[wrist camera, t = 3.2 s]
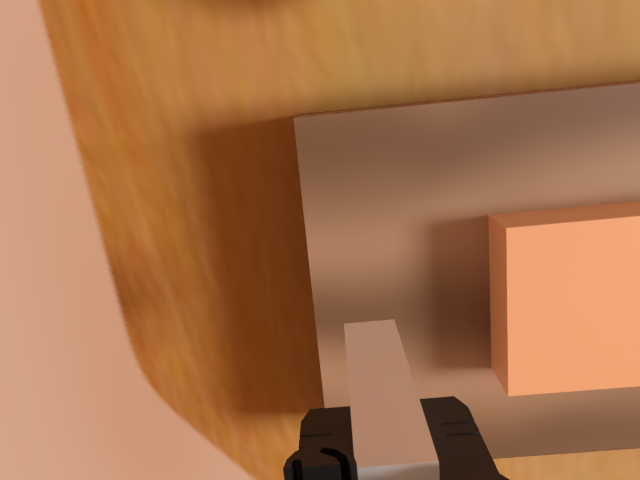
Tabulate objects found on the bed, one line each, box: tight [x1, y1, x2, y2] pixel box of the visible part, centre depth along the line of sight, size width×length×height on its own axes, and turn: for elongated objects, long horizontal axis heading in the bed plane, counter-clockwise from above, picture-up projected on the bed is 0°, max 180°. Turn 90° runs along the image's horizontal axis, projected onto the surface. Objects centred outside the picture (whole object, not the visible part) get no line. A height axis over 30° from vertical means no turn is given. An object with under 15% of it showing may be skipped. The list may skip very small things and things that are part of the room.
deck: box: [293, 80, 640, 459], centre depth 21 cm, size 14×24×4 cm, turn 96°
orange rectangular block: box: [488, 201, 640, 396], centre depth 19 cm, size 6×9×2 cm, turn 96°
